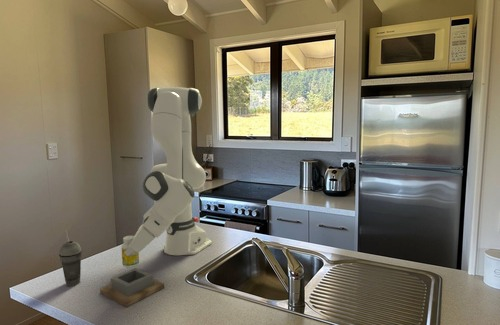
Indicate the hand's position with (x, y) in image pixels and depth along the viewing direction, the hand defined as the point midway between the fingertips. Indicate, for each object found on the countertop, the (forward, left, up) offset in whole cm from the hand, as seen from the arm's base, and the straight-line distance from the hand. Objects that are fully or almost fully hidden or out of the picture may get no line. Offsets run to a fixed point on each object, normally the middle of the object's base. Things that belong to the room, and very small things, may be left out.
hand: (128, 249), depth 114 cm
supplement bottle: (0, 0, -5) cm, 5 cm away
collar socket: (-1, 0, -15) cm, 15 cm away
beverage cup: (+9, -22, -15) cm, 28 cm away
